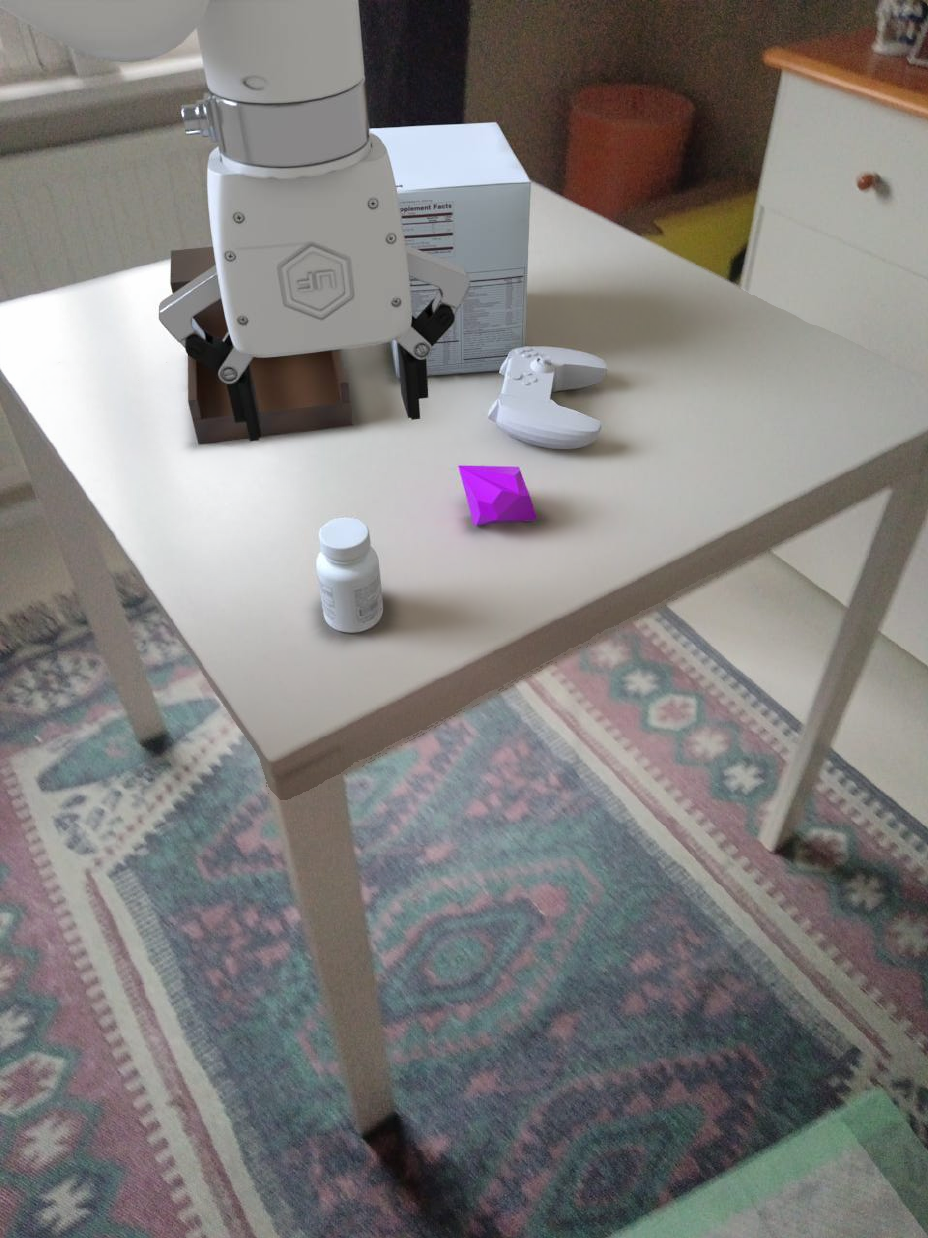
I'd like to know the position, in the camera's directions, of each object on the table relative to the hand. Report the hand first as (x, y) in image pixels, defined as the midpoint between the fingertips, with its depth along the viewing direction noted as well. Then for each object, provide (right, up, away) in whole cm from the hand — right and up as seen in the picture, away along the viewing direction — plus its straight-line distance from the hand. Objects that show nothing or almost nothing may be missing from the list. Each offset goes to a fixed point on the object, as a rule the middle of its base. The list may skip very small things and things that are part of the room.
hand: (333, 417), depth 60 cm
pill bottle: (0, -12, +12) cm, 17 cm away
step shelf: (-11, +10, +35) cm, 37 cm away
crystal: (+11, -4, +20) cm, 23 cm away
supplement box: (+6, +17, +42) cm, 46 cm away
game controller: (+16, +7, +31) cm, 36 cm away
